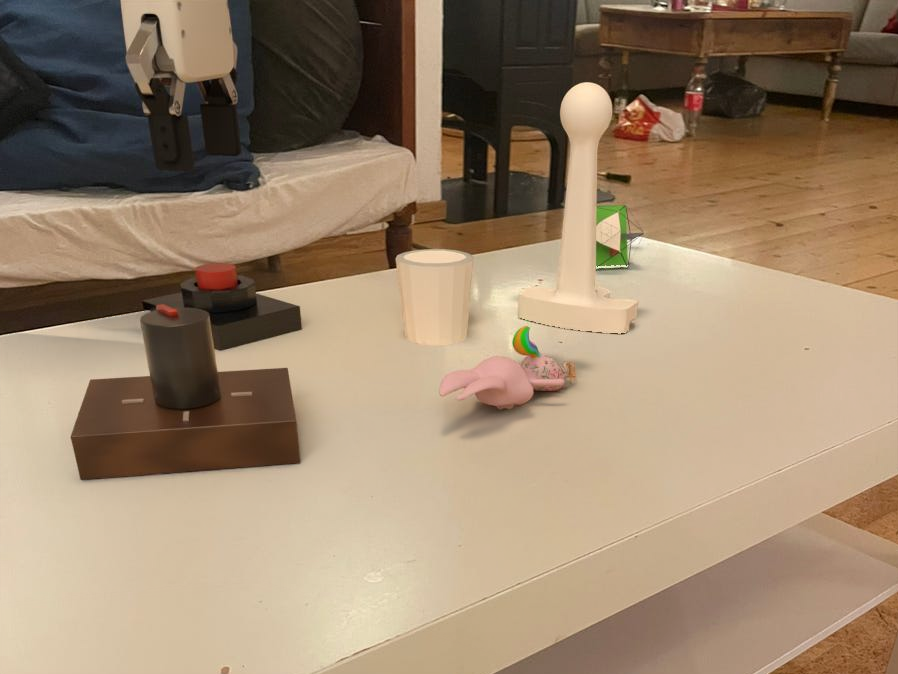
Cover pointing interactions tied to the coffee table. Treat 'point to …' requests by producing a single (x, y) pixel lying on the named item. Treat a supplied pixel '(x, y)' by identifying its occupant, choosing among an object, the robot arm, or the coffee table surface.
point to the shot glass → (435, 295)
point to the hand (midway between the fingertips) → (200, 161)
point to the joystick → (580, 230)
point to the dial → (180, 357)
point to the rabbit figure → (509, 376)
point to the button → (216, 276)
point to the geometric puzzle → (613, 236)
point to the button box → (235, 312)
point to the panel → (185, 427)
